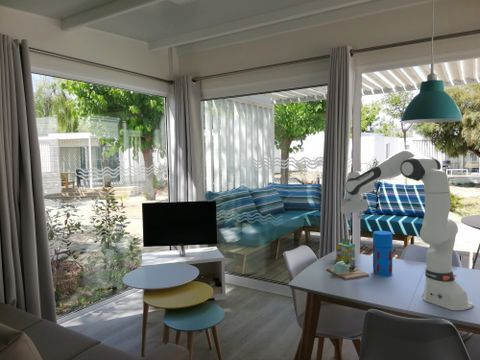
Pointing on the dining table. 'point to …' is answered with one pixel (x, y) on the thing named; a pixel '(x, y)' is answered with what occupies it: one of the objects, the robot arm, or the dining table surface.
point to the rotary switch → (340, 267)
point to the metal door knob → (352, 265)
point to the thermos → (382, 253)
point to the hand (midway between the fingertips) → (354, 219)
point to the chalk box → (345, 251)
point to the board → (349, 273)
